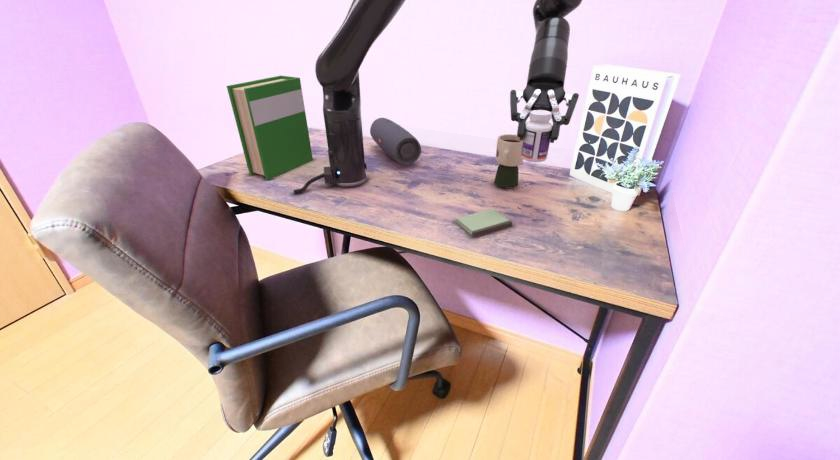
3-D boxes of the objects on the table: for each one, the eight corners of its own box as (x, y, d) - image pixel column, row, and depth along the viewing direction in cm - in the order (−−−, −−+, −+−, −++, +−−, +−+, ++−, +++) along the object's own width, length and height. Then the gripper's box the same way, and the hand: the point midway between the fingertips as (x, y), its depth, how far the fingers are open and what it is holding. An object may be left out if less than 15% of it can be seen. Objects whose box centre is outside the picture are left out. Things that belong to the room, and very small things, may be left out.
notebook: (473, 237, 78) (474, 232, 77) (456, 222, 83) (456, 217, 82) (511, 226, 82) (512, 221, 81) (492, 212, 87) (493, 208, 86)
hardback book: (267, 180, 102) (246, 89, 90) (249, 174, 105) (226, 85, 93) (312, 159, 115) (299, 77, 103) (295, 155, 118) (280, 75, 106)
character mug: (499, 175, 105) (504, 130, 98) (523, 180, 102) (531, 134, 95) (486, 190, 97) (491, 142, 90) (513, 196, 94) (520, 147, 87)
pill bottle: (545, 154, 81) (553, 109, 76) (548, 163, 77) (557, 116, 71) (519, 153, 82) (526, 108, 77) (521, 162, 77) (528, 115, 72)
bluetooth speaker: (369, 147, 125) (367, 117, 120) (394, 143, 128) (393, 114, 123) (393, 171, 108) (392, 137, 102) (422, 166, 111) (422, 133, 106)
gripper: (513, 54, 77) (501, 127, 73) (587, 56, 73) (578, 133, 70) (512, 76, 84) (501, 145, 80) (580, 79, 80) (570, 151, 77)
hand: (536, 139), depth 75 cm, fingers closed on pill bottle, 5 cm apart
